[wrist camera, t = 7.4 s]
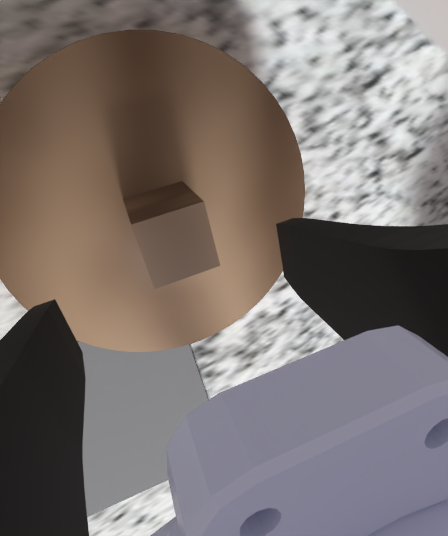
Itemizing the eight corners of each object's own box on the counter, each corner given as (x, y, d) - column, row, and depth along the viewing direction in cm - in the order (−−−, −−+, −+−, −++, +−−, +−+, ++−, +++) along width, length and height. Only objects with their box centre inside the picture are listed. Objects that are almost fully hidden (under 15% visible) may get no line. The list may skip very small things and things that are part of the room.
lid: (272, -1, 15) (336, -34, 11) (308, 286, 22) (356, 328, 18) (-103, 82, 13) (-189, 77, 9) (68, 379, 19) (63, 451, 15)
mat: (174, 301, 24) (176, 305, 23) (224, 446, 31) (226, 452, 30) (-77, 393, 21) (-81, 400, 21) (41, 530, 28) (41, 538, 28)
